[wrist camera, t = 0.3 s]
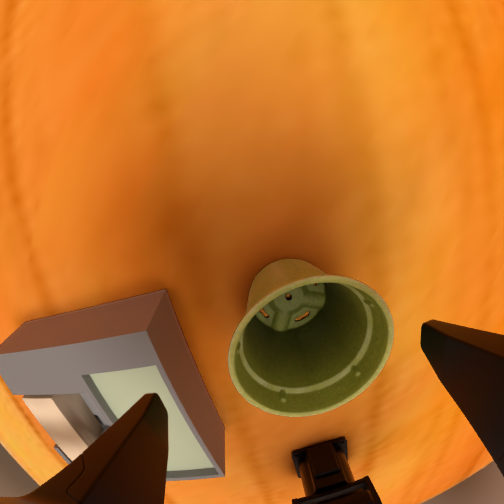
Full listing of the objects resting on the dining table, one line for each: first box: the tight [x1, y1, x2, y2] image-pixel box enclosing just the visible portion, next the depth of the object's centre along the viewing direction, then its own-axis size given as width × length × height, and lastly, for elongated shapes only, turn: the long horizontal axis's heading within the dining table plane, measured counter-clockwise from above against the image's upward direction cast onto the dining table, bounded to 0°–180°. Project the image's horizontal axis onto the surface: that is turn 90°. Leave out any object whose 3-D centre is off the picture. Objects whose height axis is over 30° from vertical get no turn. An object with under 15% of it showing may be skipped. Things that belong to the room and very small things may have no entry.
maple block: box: [22, 393, 103, 461], centre depth 21 cm, size 9×4×4 cm, turn 14°
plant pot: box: [228, 259, 394, 417], centre depth 20 cm, size 9×9×9 cm
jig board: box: [0, 289, 225, 481], centre depth 22 cm, size 16×16×6 cm
